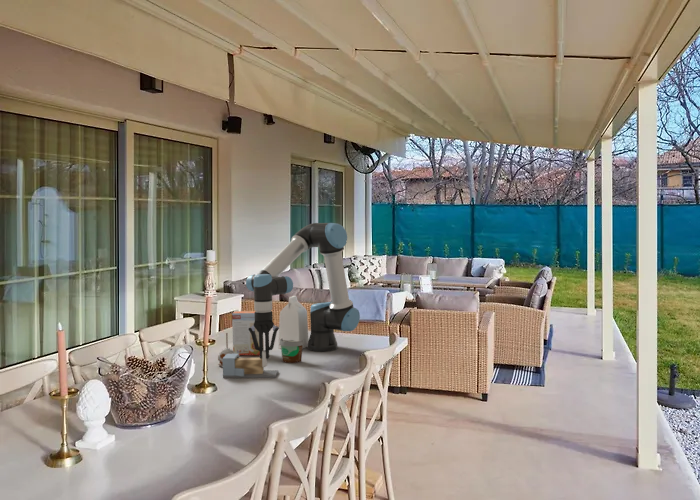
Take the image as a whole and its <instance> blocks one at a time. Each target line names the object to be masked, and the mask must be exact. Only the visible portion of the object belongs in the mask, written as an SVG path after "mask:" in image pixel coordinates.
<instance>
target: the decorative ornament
mask: <svg viewBox="0 0 700 500" xmlns="http://www.w3.org/2000/svg"><path fill="white" fill-rule="evenodd" d="M225 334H226V335H225V345H226V348H225V347H224V349H221V351H220V352H219V354H218V355H217V361H218V362H219V363H218V364H217V366H219V367H222V368H223V357H224V356H225V355H227V354H235V352H234V351H233V348H231V347H229V341H228V339H229V338H228V337H229V336H228V332H226V333H225Z"/></svg>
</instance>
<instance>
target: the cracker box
mask: <svg viewBox="0 0 700 500" xmlns="http://www.w3.org/2000/svg"><path fill="white" fill-rule="evenodd" d="M255 312H256V311H255V310H254V311H250V310H249V311H248V310H243V311H242V310H241V311H239V310H237V311H233V312H232V313H231V316H232V318H231V319H232V320H231V321H232V323H231V324H232V325H231V326H232V350H233V351H234V352H235V354H239V356H260V351H259V350H255V346H254V343H253V339H252V335H251V333H250V331H249V330H248V329H249V328H250V327H252V326H253V325H254V322H255ZM254 331H255V334H256V338H257V342H258V345H259V332H258V331H257V330H256V328H255V330H254ZM264 343H265V339H263V348H264V349H263V350H265V344H264Z"/></svg>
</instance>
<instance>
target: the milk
mask: <svg viewBox="0 0 700 500" xmlns="http://www.w3.org/2000/svg"><path fill="white" fill-rule="evenodd" d="M278 319H279V325H278V327H279V329H278V347H277V348H278V350H281V345H279V343H280V339H282V338H283V340H286V341H290V340H293V341H296V342H297V341H302V340H303V343H304V345H303V346H302V350H303V349H305V348H308V341H309V327H308V310H307V308H306V307H305V306H304V305H303V304H302V303H301V302H300V301H299V300H298V297H297V295H292V296H289V298H288V303H287V304H286V305H285V306H284V307H282V309H281V310H280V312H279V318H278Z"/></svg>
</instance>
